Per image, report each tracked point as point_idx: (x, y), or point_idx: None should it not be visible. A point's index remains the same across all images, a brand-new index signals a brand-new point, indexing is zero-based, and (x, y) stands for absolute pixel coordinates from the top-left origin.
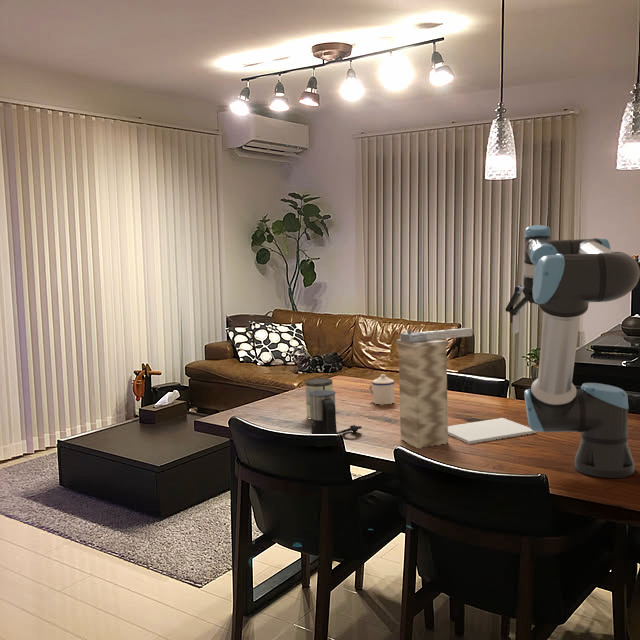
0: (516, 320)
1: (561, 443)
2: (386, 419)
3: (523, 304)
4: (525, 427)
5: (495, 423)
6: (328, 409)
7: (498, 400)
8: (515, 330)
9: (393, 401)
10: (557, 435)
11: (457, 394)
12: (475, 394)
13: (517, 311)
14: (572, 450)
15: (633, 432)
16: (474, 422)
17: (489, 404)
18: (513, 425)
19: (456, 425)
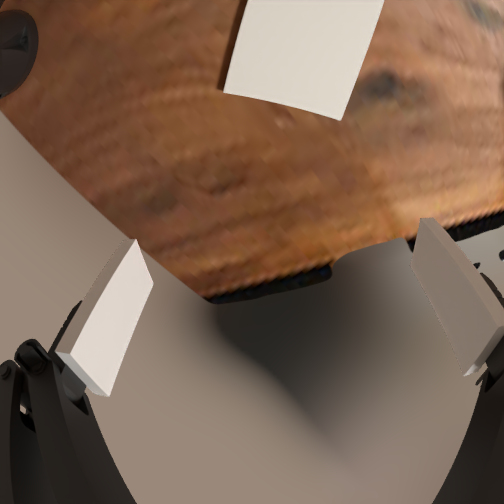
0: (462, 307)
1: (134, 78)
2: (481, 15)
3: (458, 494)
4: (255, 91)
5: (326, 72)
6: None
7: (403, 222)
8: (428, 243)
9: None
10: (180, 112)
11: (460, 209)
12: None
13: (485, 383)
14: (89, 65)
15: (122, 230)
16: (364, 52)
17: (407, 195)
18: (286, 85)
19: (376, 11)
